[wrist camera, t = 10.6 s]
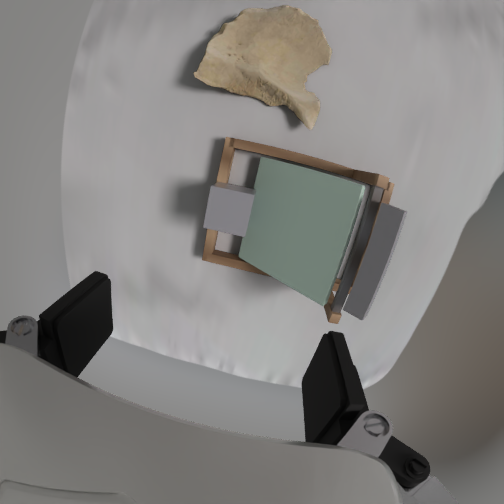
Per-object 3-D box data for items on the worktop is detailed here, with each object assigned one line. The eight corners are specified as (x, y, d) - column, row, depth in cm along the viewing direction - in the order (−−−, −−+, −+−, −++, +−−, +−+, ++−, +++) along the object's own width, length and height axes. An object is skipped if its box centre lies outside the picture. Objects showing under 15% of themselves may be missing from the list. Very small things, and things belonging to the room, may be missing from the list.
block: (256, 189, 35) (218, 181, 34) (254, 195, 30) (210, 185, 30) (248, 226, 36) (211, 218, 36) (244, 237, 32) (203, 227, 32)
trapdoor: (267, 158, 34) (259, 156, 33) (409, 202, 23) (407, 201, 22) (244, 255, 39) (236, 257, 38) (363, 323, 28) (358, 328, 27)
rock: (351, 44, 28) (360, 35, 24) (309, 129, 34) (314, 128, 30) (239, 1, 26) (235, -13, 22) (194, 82, 32) (185, 76, 28)
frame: (228, 138, 34) (209, 130, 24) (388, 182, 34) (426, 193, 24) (205, 255, 40) (182, 288, 30) (352, 289, 40) (373, 330, 30)
